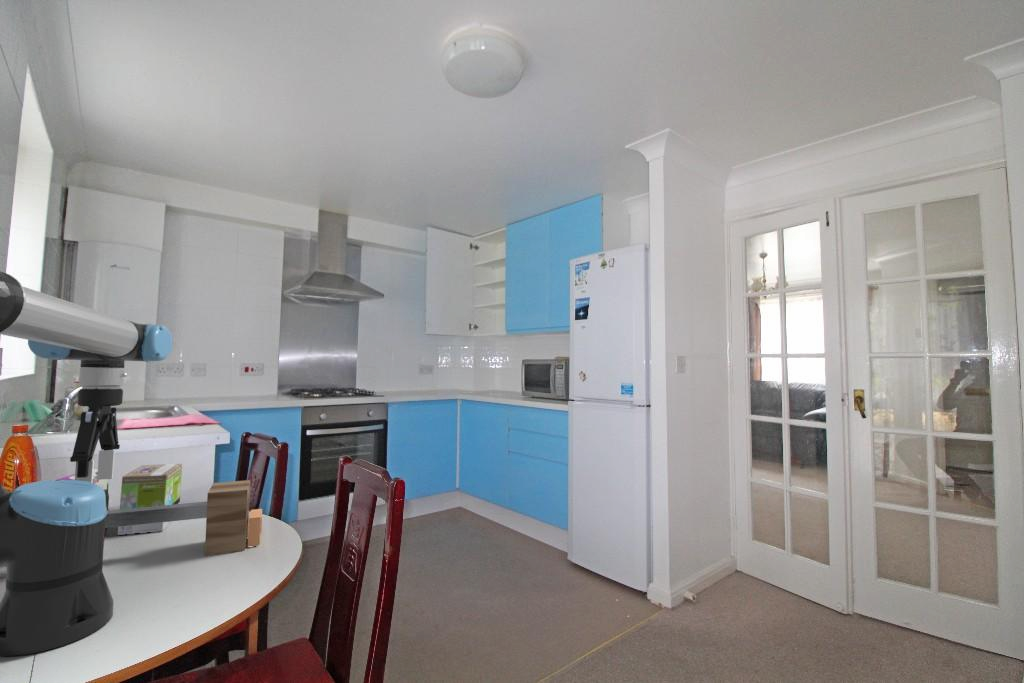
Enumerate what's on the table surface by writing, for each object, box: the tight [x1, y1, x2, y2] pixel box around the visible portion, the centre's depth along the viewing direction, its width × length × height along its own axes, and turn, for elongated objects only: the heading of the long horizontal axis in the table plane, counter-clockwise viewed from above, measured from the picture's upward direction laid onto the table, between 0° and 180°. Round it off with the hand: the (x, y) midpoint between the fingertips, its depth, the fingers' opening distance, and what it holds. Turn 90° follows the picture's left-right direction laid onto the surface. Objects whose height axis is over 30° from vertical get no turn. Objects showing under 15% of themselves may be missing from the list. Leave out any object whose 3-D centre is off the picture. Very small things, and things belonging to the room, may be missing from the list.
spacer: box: [247, 508, 263, 547], centre depth 119 cm, size 7×2×7 cm, turn 24°
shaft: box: [104, 488, 207, 529], centre depth 110 cm, size 4×24×8 cm, turn 115°
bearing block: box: [204, 479, 251, 557], centre depth 116 cm, size 10×8×14 cm
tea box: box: [117, 463, 183, 536], centre depth 129 cm, size 15×10×15 cm
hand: (94, 485), depth 105 cm, fingers open, 13 cm apart
